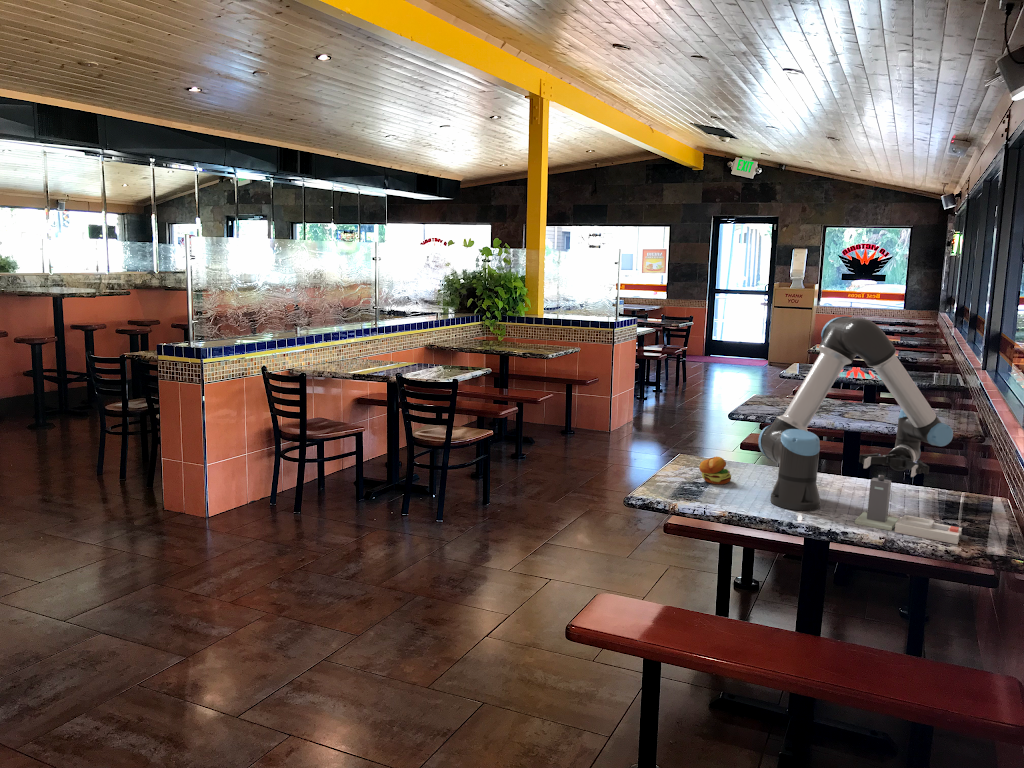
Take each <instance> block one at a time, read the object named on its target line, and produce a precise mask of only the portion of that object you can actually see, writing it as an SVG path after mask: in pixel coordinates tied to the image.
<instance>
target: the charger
mask: <svg viewBox="0 0 1024 768" xmlns="http://www.w3.org/2000/svg"><path fill="white" fill-rule="evenodd" d="M891 488H892V480H891V479H885V475H883V474H878V477H872V478H871V479H870V483H869V494H868V504H867V511H866V512H867V519H869V520H874V521H879V522H886V521H887V519H888V516H889V507H890V499H891V497H890V496H891Z"/></svg>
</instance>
